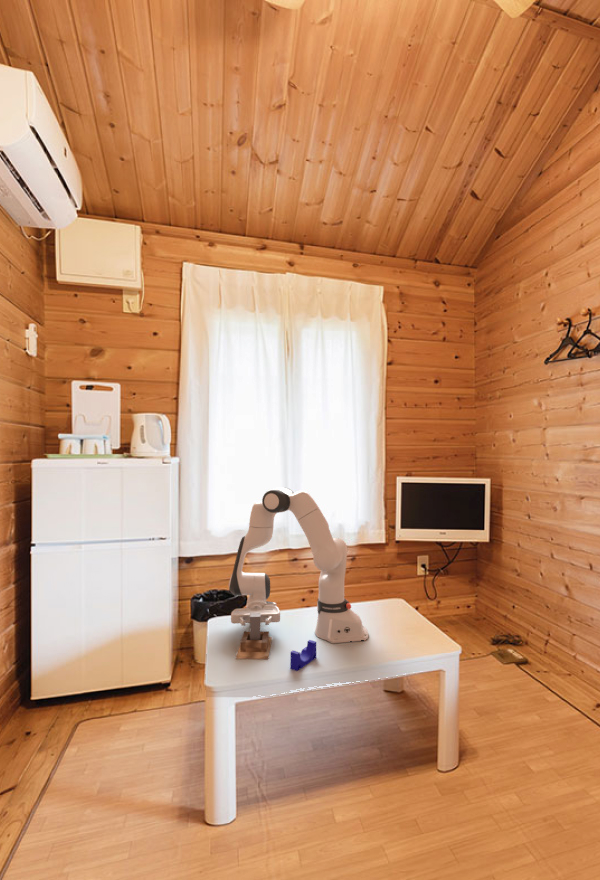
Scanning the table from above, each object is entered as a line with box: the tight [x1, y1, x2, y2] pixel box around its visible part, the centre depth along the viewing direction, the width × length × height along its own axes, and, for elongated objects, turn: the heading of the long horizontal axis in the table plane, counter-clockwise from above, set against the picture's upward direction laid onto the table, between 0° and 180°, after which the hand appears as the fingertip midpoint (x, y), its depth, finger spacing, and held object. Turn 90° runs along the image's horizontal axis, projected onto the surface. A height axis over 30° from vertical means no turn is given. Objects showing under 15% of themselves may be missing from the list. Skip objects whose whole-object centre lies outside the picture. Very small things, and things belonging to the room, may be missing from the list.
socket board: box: [235, 630, 273, 660], centre depth 158 cm, size 12×16×4 cm
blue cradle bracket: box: [289, 639, 317, 672], centre depth 147 cm, size 12×4×6 cm, turn 144°
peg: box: [249, 613, 261, 640], centre depth 158 cm, size 4×4×12 cm
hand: (255, 623), depth 160 cm, fingers open, 8 cm apart
